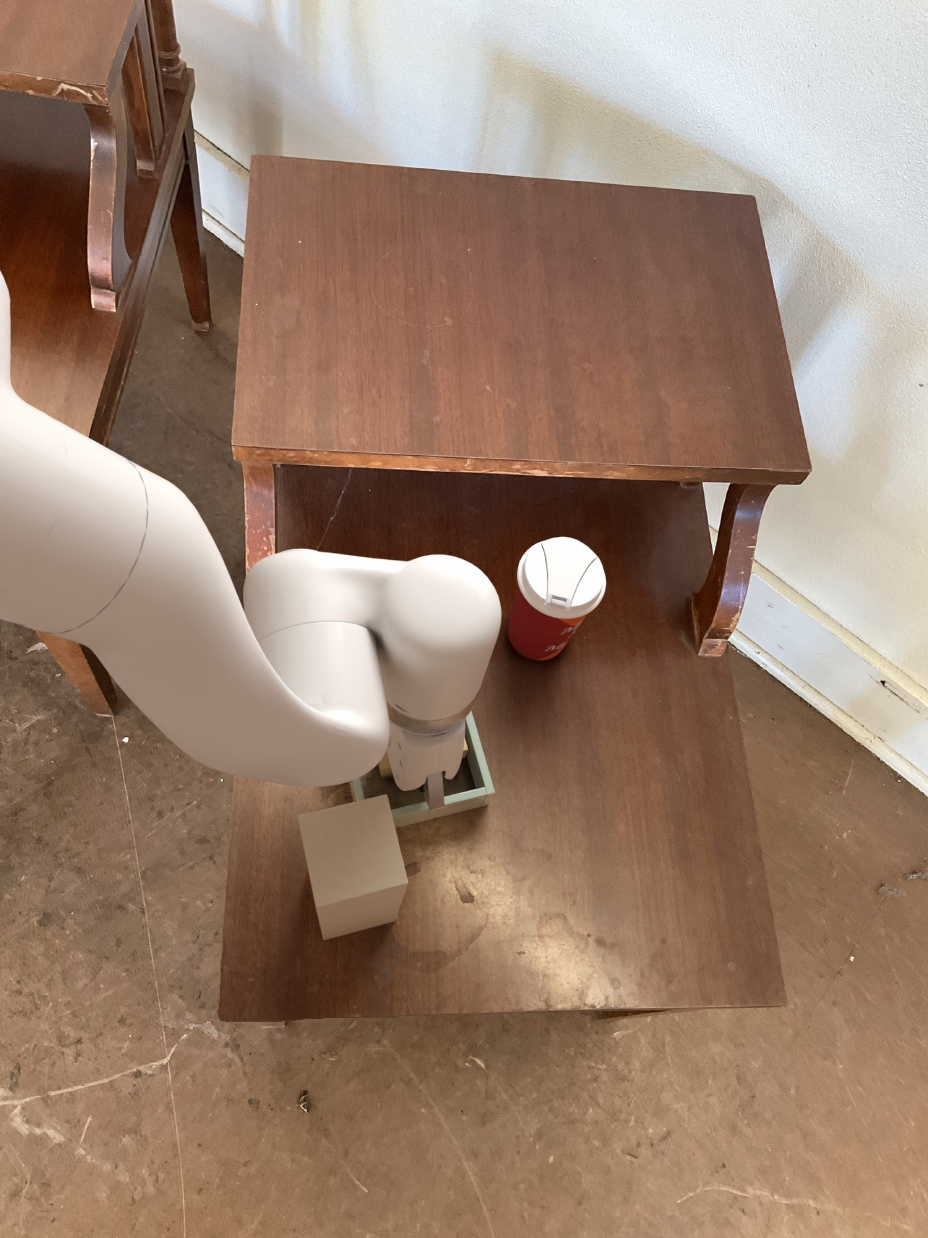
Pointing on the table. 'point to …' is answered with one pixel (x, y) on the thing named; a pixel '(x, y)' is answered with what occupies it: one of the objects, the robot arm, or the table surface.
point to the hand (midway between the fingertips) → (411, 754)
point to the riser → (354, 865)
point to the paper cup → (553, 596)
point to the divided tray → (452, 802)
